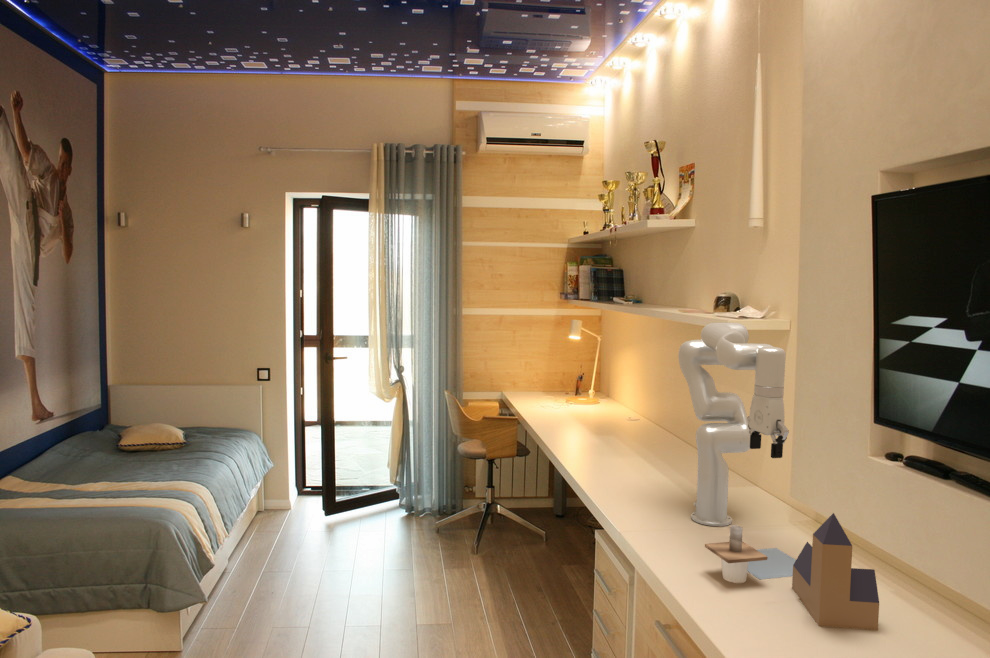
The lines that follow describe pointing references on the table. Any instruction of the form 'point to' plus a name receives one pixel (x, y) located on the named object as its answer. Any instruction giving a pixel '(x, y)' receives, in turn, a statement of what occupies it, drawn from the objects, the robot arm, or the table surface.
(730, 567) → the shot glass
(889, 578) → the table surface
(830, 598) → the toy building blocks
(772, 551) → the mat
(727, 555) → the lid
